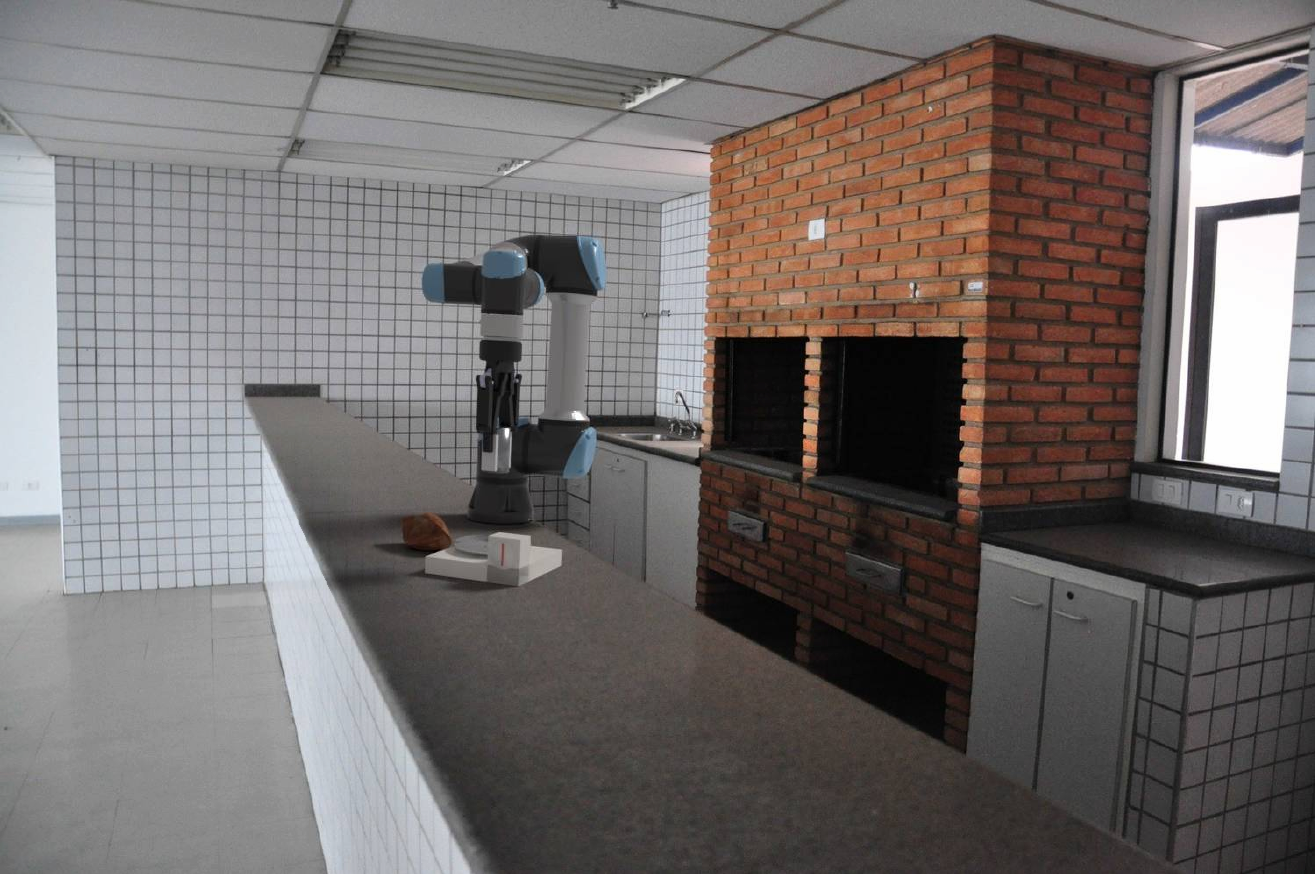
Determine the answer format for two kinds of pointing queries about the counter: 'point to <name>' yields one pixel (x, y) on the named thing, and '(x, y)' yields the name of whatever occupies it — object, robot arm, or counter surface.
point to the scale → (497, 561)
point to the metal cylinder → (502, 450)
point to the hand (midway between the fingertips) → (496, 468)
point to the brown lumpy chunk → (425, 532)
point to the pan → (473, 544)
